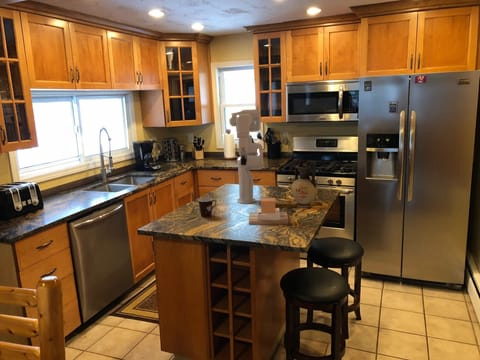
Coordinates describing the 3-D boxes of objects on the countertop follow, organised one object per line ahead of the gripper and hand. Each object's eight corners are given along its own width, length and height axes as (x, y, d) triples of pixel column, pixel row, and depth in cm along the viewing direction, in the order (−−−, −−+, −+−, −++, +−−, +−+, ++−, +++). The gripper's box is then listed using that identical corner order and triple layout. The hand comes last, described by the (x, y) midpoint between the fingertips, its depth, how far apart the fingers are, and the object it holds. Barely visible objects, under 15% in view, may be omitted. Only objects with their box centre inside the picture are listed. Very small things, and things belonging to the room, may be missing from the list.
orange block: (261, 213, 227) (261, 198, 226) (275, 213, 227) (274, 198, 225) (261, 216, 221) (261, 201, 219) (275, 216, 220) (275, 201, 219)
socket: (257, 213, 231) (257, 207, 230) (279, 213, 230) (279, 207, 230) (256, 219, 218) (256, 213, 217) (280, 219, 218) (280, 213, 217)
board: (249, 215, 233) (249, 212, 233) (286, 215, 232) (286, 212, 231) (249, 224, 217) (248, 220, 217) (288, 223, 216) (288, 220, 216)
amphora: (322, 204, 255) (322, 158, 249) (311, 210, 241) (311, 162, 235) (297, 200, 264) (297, 157, 258) (286, 206, 251) (285, 160, 245)
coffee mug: (200, 218, 231) (199, 202, 229) (198, 214, 239) (197, 198, 237) (219, 216, 234) (218, 200, 232) (216, 212, 242) (215, 197, 240)
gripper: (237, 134, 241) (238, 161, 245) (236, 137, 224) (236, 166, 228) (249, 134, 241) (250, 161, 244) (249, 136, 224) (249, 166, 227)
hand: (243, 163), depth 236 cm, fingers open, 9 cm apart
